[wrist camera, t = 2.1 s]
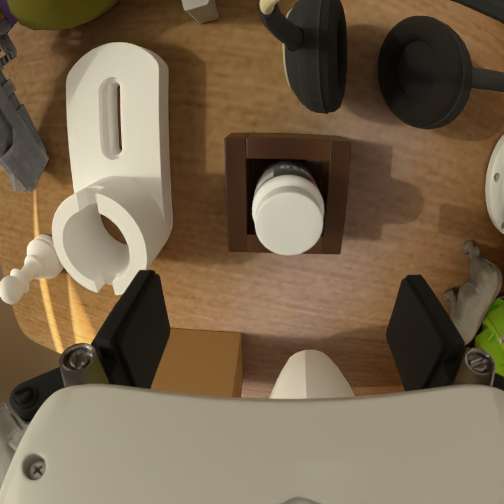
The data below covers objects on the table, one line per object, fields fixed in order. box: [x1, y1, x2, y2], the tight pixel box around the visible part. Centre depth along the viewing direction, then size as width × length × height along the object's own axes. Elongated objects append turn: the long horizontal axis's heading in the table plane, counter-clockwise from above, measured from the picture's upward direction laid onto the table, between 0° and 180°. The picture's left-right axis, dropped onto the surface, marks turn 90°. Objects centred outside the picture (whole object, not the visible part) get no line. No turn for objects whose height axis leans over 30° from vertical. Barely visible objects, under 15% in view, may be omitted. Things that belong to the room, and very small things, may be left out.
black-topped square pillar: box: [150, 328, 243, 398], centre depth 20 cm, size 8×8×35 cm
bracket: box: [52, 42, 173, 295], centre depth 22 cm, size 20×9×7 cm, turn 178°
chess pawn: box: [0, 234, 64, 304], centre depth 26 cm, size 5×5×9 cm
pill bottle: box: [252, 159, 324, 255], centre depth 21 cm, size 5×5×8 cm
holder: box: [224, 133, 351, 254], centre depth 24 cm, size 9×9×4 cm
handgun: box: [0, 0, 49, 193], centre depth 17 cm, size 3×22×15 cm
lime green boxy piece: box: [466, 296, 504, 377], centre depth 26 cm, size 13×16×14 cm
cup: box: [269, 350, 354, 399], centre depth 24 cm, size 10×10×22 cm
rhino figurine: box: [444, 241, 502, 345], centre depth 26 cm, size 4×14×6 cm, turn 178°
